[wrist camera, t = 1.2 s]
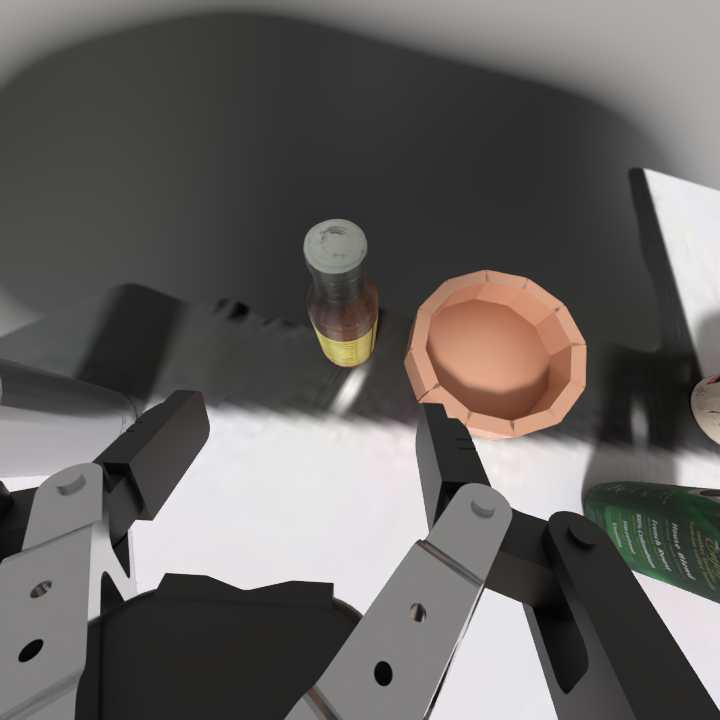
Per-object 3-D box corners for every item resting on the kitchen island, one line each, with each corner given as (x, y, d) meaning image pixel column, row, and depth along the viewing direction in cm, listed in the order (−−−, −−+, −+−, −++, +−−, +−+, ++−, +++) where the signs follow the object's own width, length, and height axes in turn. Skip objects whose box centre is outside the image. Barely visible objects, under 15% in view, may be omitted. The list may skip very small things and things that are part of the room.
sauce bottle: (342, 313, 40) (330, 180, 21) (384, 340, 39) (410, 226, 20) (310, 353, 38) (265, 249, 19) (353, 382, 37) (349, 303, 18)
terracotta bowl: (392, 416, 36) (398, 410, 31) (420, 281, 41) (428, 257, 36) (552, 454, 35) (584, 453, 30) (560, 310, 40) (587, 290, 35)
